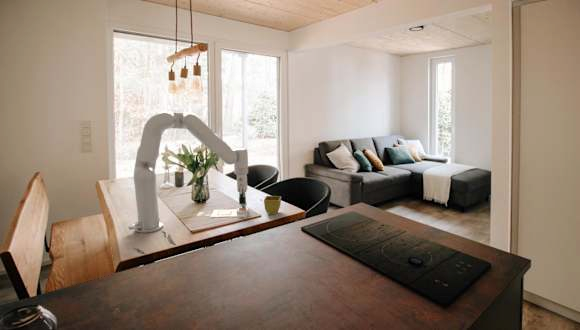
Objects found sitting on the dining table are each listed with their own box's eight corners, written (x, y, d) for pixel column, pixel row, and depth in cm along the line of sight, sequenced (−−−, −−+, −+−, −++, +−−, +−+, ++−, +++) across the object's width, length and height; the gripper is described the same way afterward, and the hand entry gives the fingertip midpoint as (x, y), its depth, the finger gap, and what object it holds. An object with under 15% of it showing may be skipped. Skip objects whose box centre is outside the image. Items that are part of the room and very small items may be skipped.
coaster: (196, 217, 173) (196, 216, 173) (199, 212, 180) (199, 212, 180) (209, 216, 173) (209, 215, 173) (211, 212, 180) (211, 211, 180)
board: (210, 218, 171) (209, 213, 171) (214, 211, 183) (214, 206, 182) (247, 217, 172) (246, 212, 172) (248, 210, 184) (248, 205, 183)
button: (239, 213, 176) (239, 208, 175) (239, 211, 179) (239, 206, 179) (245, 213, 176) (245, 208, 176) (245, 211, 179) (245, 206, 179)
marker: (244, 208, 175) (242, 189, 173) (239, 207, 177) (237, 189, 175) (248, 206, 178) (246, 187, 176) (243, 206, 180) (241, 187, 178)
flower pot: (281, 211, 183) (281, 196, 181) (279, 216, 174) (279, 200, 173) (266, 210, 184) (266, 195, 182) (264, 215, 175) (263, 200, 173)
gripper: (246, 173, 166) (248, 207, 169) (249, 167, 182) (250, 198, 185) (232, 174, 165) (234, 207, 168) (236, 168, 181) (237, 198, 185)
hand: (242, 202), depth 177 cm, fingers closed on marker, 3 cm apart
